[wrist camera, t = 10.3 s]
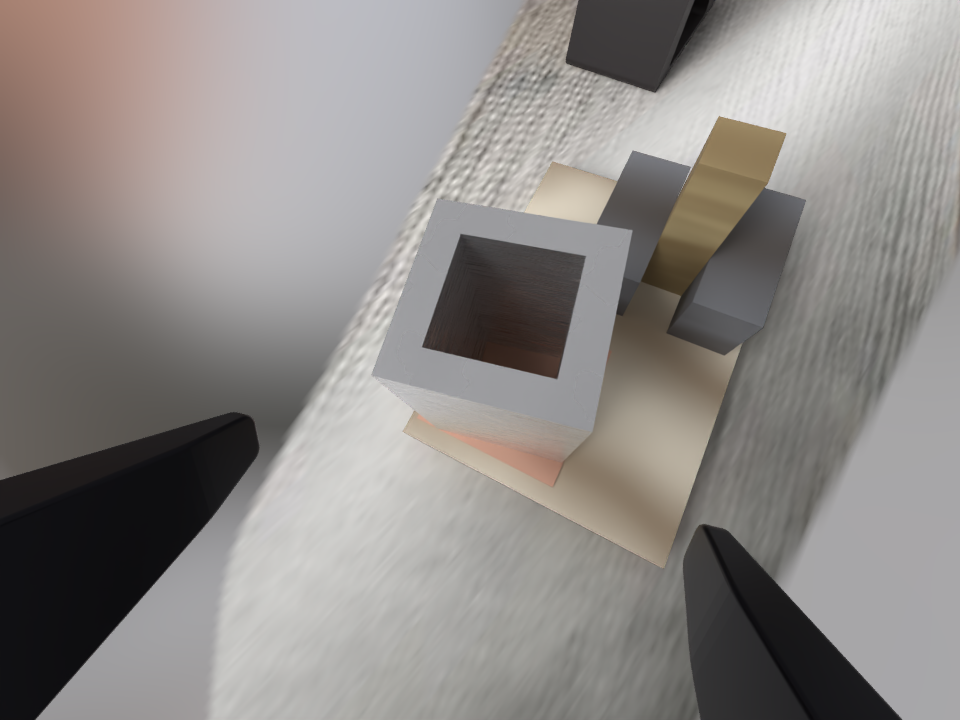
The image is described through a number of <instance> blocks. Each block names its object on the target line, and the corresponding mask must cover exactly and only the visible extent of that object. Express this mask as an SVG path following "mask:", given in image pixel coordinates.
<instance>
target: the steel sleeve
mask: <svg viewBox="0 0 960 720" xmlns="http://www.w3.org/2000/svg"><path fill="white" fill-rule="evenodd" d="M632 231H633V230H628V229H622V228H616V227H610V226H604V225H597V224H591V223H585V222H579V221H573V220H567V219H560V218H554V217H548V216H542V215H536V214H530V213H523V212H517V211H511V210H505V209H499V208H493V207H486V206H480V205H474V204H468V203H462V202H456V201H449V200H443V199H437V201H436V204H435V206H434V209H433V212H432V214H431V217H430V220H429V222H428V225H427V228H426V230H425V233H424V236H423V238H422V241H421V244H420V246H419V249H418V252H417V254H416V257H415V260H414V262H413V265H412V268H411V271H410V273H409V276H408V279H407V281H406V284H405V287H404V289H403V292H402V295H401V297H400V300H399V303H398V305H397V308H396V311H395V313H394V316H393V319H392V321H391V324H390V327H389V329H388V332H387V335H386V337H385V340H384V343H383V345H382V348H381V351H380V353H379V356H378V359H377V361H376V364H375V367H374V369H373V372H372V375H371V376H373V377H374V378H375V379H376V380H378V381H379V382H380V383H381V384H383V385H384V386H385V387H386V388H388V389H389V390H390V391H391V392H392V393H394V394H395V395H396V396H397V397H399V398H400V399H401V400H402V401H404V402H405V403H406V404H407V405H409V406H410V407H411V408H412V409H414V410H415V411H416V412H417V413H419V414H420V415H421V416H422V417H424V418H425V419H426V420H427V421H429V422H430V423H431V424H432V425H434V426H435V427H436V428H437V429H441V430H444V431H448V432H451V433H455V434H459V435H462V436H466V437H470V438H473V439H477V440H481V441H484V442H488V443H492V444H495V445H499V446H503V447H506V448H510V449H514V450H517V451H521V452H525V453H528V454H532V455H535V456H539V457H543V458H546V459H550V460H554V461H557V462H561V463H562V462H563V461H564V460H565V459H566V458H567V457H568V456H569V455H570V454H571V453H572V452H573V451H574V450H575V449H576V448H577V447H578V446H579V445H580V444H581V443H582V442H583V441H584V440H585V439H586V438H587V437H588V436H589V435H590V434H591V433H592V432H593V427H594V422H595V417H596V412H597V407H598V402H599V397H600V392H601V387H602V382H603V377H604V372H605V367H606V362H607V357H608V352H609V347H610V342H611V337H612V331H613V326H614V321H615V316H616V311H617V306H618V301H619V296H620V291H621V286H622V281H623V276H624V271H625V266H626V261H627V256H628V251H629V246H630V241H631V236H632ZM487 341H488V342H492V343H496V344H501V345H505V346H510V347H514V348H519V349H523V350H527V351H532V352H536V353H541V354H545V355H550V356H554V357H558V358H561V359H560V363H559V367H558V371H557V376H556V379H554V378H550V377H545V376H541V375H537V374H533V373H528V372H524V371H520V370H516V369H511V368H507V367H503V366H499V365H495V364H490V363H486V362H482V361H481V360H482V356H483V353H484V349H485V346H486V343H487Z"/></svg>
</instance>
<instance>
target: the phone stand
mask: <svg viewBox="0 0 960 720" xmlns="http://www.w3.org/2000/svg"><path fill="white" fill-rule="evenodd" d="M714 2H715V0H579V1H578V5H577V10H576V15H575V19H574V24H573V29H572V33H571V38H570V42H569V47H568V52H567V56H566V63H568V64H571V65H574V66H577V67H580V68H583V69H586V70H589V71H592V72H595V73H598V74H602V75H605V76H608V77H611V78H614V79H617V80H620V81H623V82H626V83H629V84H632V85H635V86H638V87H641V88H644V89H647V90H650V91H653V92H655V91H656V90H657V88H658V87H659V85H660V84H661V82H662V81H663V79H664V78H665V76H666V75H667V73H668V72H669V70H670V69H671V67H672V66H673V64H674V63H675V61H676V60H677V58H678V57H679V55H680V54H681V52H682V51H683V49H684V47H685V45H687V43H688V42H689V40H690V39H691V37H692V36H693V34H694V33H695V31H696V30H697V28H698V27H699V25H700V24H701V22H702V21H703V19H704V18H705V16H706V15H707V13H708V12H709V10H710V9H711V7H712V6H713V4H714Z"/></svg>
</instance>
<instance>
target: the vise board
mask: <svg viewBox="0 0 960 720" xmlns="http://www.w3.org/2000/svg"><path fill="white" fill-rule="evenodd" d="M785 136H786V133H783V132H779V131H775V130H771V129H767V128H763V127H760V126H756V125H752V124H748V123H744V122H740V121H736V120H732V119H728V118H724V117H720V116H719V117H718V119H717V121H716V123H715V125H714V127H713V129H712V131H711V133H710V135H709V137H708V139H707V141H706V143H705V145H704V147H703V149H702V151H701V153H700V155H699V157H698V159H697V161H696V163H695V165H694V167H693V169H692V171H691V173H690V175H689V176H688V178H687V180H686V182H685V184H684V181H685V179H686V177H687V175H688V172H689V170H690V168H691V167H689V166H685V165H682V164H678V163H675V162H671V161H668V160H664V159H661V158H657V157H654V156H650V155H647V154H643V153H640V152H636V151H632V153H631V155H630V157H629V159H628V161H627V163H626V165H625V167H624V169H623V171H622V173H621V175H620V178H619V180H618V181H614V180H611V179H608V178H605V177H601V176H598V175H595V174H591V173H588V172H585V171H582V170H578V169H575V168H572V167H569V166H565V165H562V164H559V163H556V162H552V163H551V165H550V167H549V169H548V170H547V172H546V174H545V176H544V178H543V179H542V181H541V183H540V185H539V187H538V188H537V190H536V192H535V194H534V196H533V197H532V199H531V201H530V203H529V205H528V207H527V208H526V210H525V212H524V213H530V214H536V215H542V216H548V217H554V218H560V219H567V220H573V221H579V222H585V223H591V224H597V225H604V226H610V227H616V228H622V229H628V230H633V231H632V236H631V241H630V246H629V251H628V256H627V261H626V266H625V271H624V276H623V281H622V286H621V291H620V296H619V301H618V306H617V311H616V316H615V321H614V326H613V331H612V337H611V342H610V347H609V352H608V357H607V362H606V367H605V372H604V377H603V382H602V387H601V392H600V397H599V402H598V407H597V412H596V417H595V422H594V427H593V432H592V433H591V434H590V435H589V436H588V437H587V438H586V439H585V440H584V441H583V442H582V443H581V444H580V445H579V446H578V447H577V448H576V449H575V450H574V451H573V452H572V453H571V454H570V455H569V456H568V457H567V458H566V459H565V460H564V461H563V462H562V463H561V462H557V461H554V460H550V459H546V458H543V457H539V456H535V455H532V454H528V453H525V452H521V451H517V450H514V449H510V448H506V447H503V446H499V445H495V444H492V443H488V442H484V441H481V440H477V439H473V438H470V437H466V436H462V435H459V434H455V433H451V432H448V431H444V430H441V429H437V428H436V427H435V426H434V425H432V424H431V423H430V422H429V421H427V420H426V419H425V418H424V417H422V416H421V415H420V414H419V413H417V412H416V411H415V410H414V412H413V414H412V416H411V418H410V419H409V421H408V423H407V425H406V427H405V428H404V430H403V432H404V433H406V434H408V435H410V436H411V437H413V438H415V439H417V440H419V441H421V442H423V443H425V444H427V445H429V446H430V447H432V448H434V449H436V450H438V451H440V452H442V453H444V454H446V455H448V456H449V457H451V458H453V459H455V460H457V461H459V462H461V463H463V464H465V465H467V466H468V467H470V468H472V469H474V470H476V471H478V472H480V473H482V474H484V475H486V476H487V477H489V478H491V479H493V480H495V481H497V482H499V483H501V484H503V485H505V486H506V487H508V488H510V489H512V490H514V491H516V492H518V493H520V494H522V495H524V496H525V497H527V498H529V499H531V500H533V501H535V502H537V503H539V504H541V505H543V506H545V507H546V508H548V509H550V510H552V511H554V512H556V513H558V514H560V515H562V516H564V517H565V518H567V519H569V520H571V521H573V522H575V523H577V524H579V525H581V526H583V527H584V528H586V529H588V530H590V531H592V532H594V533H596V534H598V535H600V536H602V537H603V538H605V539H607V540H609V541H611V542H613V543H615V544H617V545H619V546H621V547H622V548H624V549H626V550H628V551H630V552H632V553H634V554H636V555H638V556H640V557H641V558H643V559H645V560H647V561H649V562H651V563H653V564H655V565H657V566H659V567H661V568H663V569H664V567H665V564H666V562H667V559H668V556H669V553H670V550H671V547H672V544H673V541H674V539H675V536H676V533H677V530H678V527H679V524H680V521H681V518H682V516H683V513H684V510H685V507H686V504H687V501H688V498H689V495H690V493H691V490H692V487H693V484H694V481H695V478H696V475H697V472H698V470H699V467H700V464H701V461H702V458H703V455H704V452H705V449H706V446H707V444H708V441H709V438H710V435H711V432H712V429H713V426H714V423H715V421H716V418H717V415H718V412H719V409H720V406H721V403H722V400H723V398H724V395H725V392H726V389H727V386H728V383H729V380H730V377H731V375H732V372H733V369H734V366H735V363H736V360H737V357H738V354H739V352H740V349H741V346H742V343H743V342H744V341H745V340H747V339H748V338H750V337H751V336H752V335H754V334H755V333H756V332H758V331H759V330H761V329H762V328H763V327H764V324H765V321H766V318H767V315H768V312H769V309H770V306H771V303H772V300H773V297H774V294H775V291H776V288H777V285H778V282H779V279H780V276H781V273H782V270H783V267H784V264H785V261H786V258H787V255H788V252H789V249H790V246H791V243H792V240H793V237H794V234H795V231H796V228H797V225H798V223H799V220H800V217H801V214H802V211H803V208H804V205H805V202H806V200H804V199H801V198H797V197H794V196H790V195H787V194H783V193H780V192H776V191H773V190H769V189H766V188H765V186H766V185H767V184H768V182H769V179H770V176H771V174H772V171H773V168H774V166H775V163H776V160H777V158H778V155H779V152H780V150H781V147H782V144H783V141H784V139H785ZM683 184H684V186H683ZM682 186H683V188H682ZM681 188H682V190H681ZM680 191H681V192H680ZM679 193H680V194H679ZM678 195H679V196H678ZM677 197H678V198H677ZM560 359H561V358H558V357H554V356H550V355H545V354H541V353H536V352H532V351H527V350H523V349H519V348H514V347H510V346H505V345H501V344H496V343H492V342H488V341H487V343H486V346H485V349H484V353H483V356H482V360H481V361H482V362H486V363H490V364H495V365H499V366H503V367H507V368H511V369H516V370H520V371H524V372H528V373H533V374H537V375H541V376H545V377H550V378H554V379H556V376H557V371H558V367H559V363H560Z"/></svg>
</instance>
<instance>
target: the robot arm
mask: <svg viewBox="0 0 960 720" xmlns="http://www.w3.org/2000/svg"><path fill="white" fill-rule="evenodd" d="M259 449H260V445H259V440H258V435H257V430H256V425H255V421H254V419H253V418H252V417H251V416H249V415H246V414H242V413H237V412H231V413H227V414H224V415H220V416H217V417H213V418H210V419H207V420H203V421H200V422H196V423H193V424H190V425H186V426H183V427H179V428H176V429H173V430H169V431H166V432H163V433H159V434H156V435H152V436H149V437H145V438H142V439H139V440H135V441H132V442H129V443H125V444H122V445H118V446H115V447H111V448H108V449H105V450H102V451H98V452H94V453H91V454H88V455H84V456H81V457H77V458H74V459H71V460H67V461H64V462H60V463H57V464H54V465H50V466H47V467H43V468H40V469H37V470H33V471H30V472H26V473H24V474H20V475H16V476H13V477H9V478H6V479H3V480H0V720H36V718H37V717H38V716H39V715H40V714H41V713H42V712H43V710H44V709H45V708H46V707H47V706H48V705H49V704H50V703H51V701H52V700H53V699H54V698H55V697H56V696H57V695H58V693H59V692H60V691H61V690H62V689H63V688H64V686H65V685H66V684H67V683H68V682H69V681H70V680H71V679H72V677H73V676H74V675H75V674H76V673H77V672H78V671H79V669H80V668H81V667H82V666H83V665H84V664H85V663H86V661H87V660H88V659H89V658H90V657H91V656H92V655H93V653H94V652H95V651H96V650H97V649H98V648H99V646H100V645H101V644H102V643H103V642H104V641H105V640H106V639H107V638H108V636H109V635H110V634H111V633H112V632H113V631H114V629H115V628H116V627H117V626H118V625H119V624H120V623H121V622H122V620H123V619H124V618H125V617H126V616H127V614H129V612H130V611H131V610H132V609H133V608H134V606H135V605H136V604H137V603H138V602H139V601H140V600H141V598H142V597H143V596H144V595H145V594H146V593H147V592H148V591H149V590H150V588H151V587H152V586H153V585H154V584H155V583H156V581H157V580H158V579H159V578H160V577H161V576H162V575H163V574H164V572H165V571H166V570H167V569H168V568H169V567H170V566H171V564H172V563H173V562H174V561H175V560H176V559H177V558H178V556H179V555H180V554H181V553H182V552H183V551H184V549H185V548H186V547H187V546H188V545H189V544H190V543H191V541H192V540H193V539H194V538H195V537H196V536H197V535H198V534H199V532H200V531H201V530H202V529H203V528H204V527H205V525H206V524H207V523H208V522H209V521H210V519H211V518H212V517H213V516H214V514H215V513H216V512H217V510H218V509H219V508H220V506H221V505H222V504H223V502H224V501H225V500H226V498H227V497H228V496H229V494H230V493H231V491H232V490H233V489H234V487H235V486H236V485H237V483H238V482H239V481H240V479H241V478H242V476H243V475H244V474H245V472H246V471H247V470H248V468H249V467H250V466H251V464H252V462H253V461H254V460H255V459H256V457H257V455H258V453H259ZM683 575H684V588H685V601H686V614H687V628H688V641H689V652H690V662H691V668H692V674H693V680H694V686H695V691H696V697H697V702H698V708H699V713H700V719H701V720H902V719H901V718H900V717H899V715H898V714H896V712H895V711H894V710H893V709H892V708H891V707H890V706H889V705H888V704H887V702H885V701H884V699H883V698H882V697H881V696H880V695H879V694H878V693H877V692H876V691H875V690H874V689H873V687H872V686H871V685H870V684H869V683H868V682H867V681H866V680H865V679H864V678H863V677H862V675H861V674H860V673H859V672H858V671H857V670H856V669H855V668H854V667H853V666H852V665H851V664H850V662H849V661H848V660H847V659H846V658H845V657H844V656H843V655H842V654H841V653H840V652H839V651H838V649H837V648H836V647H835V646H834V645H833V644H832V643H831V642H830V641H829V640H828V639H827V638H826V636H825V635H824V634H823V633H822V632H821V631H820V630H819V629H818V628H817V627H816V626H815V625H814V624H813V622H812V621H811V620H810V619H809V618H808V617H807V616H806V615H805V614H804V613H803V612H802V610H801V609H800V608H799V607H798V606H797V605H796V604H795V603H794V602H793V601H792V600H791V599H790V597H789V596H788V595H787V594H786V593H785V592H784V591H783V590H782V589H781V588H780V587H779V586H778V584H777V583H776V582H775V581H774V580H773V579H772V578H771V577H770V576H769V575H768V574H767V573H766V571H765V570H764V569H763V568H762V567H761V566H760V565H759V564H758V563H757V562H756V561H755V560H754V558H753V557H752V556H751V555H750V554H749V553H748V552H747V551H746V550H745V549H744V548H743V547H742V545H741V544H740V543H739V542H738V541H737V540H736V539H735V538H734V537H733V536H732V535H731V534H730V533H729V532H728V531H727V530H725V529H723V528H718V527H714V526H710V525H706V524H702V525H699V526H698V528H697V529H696V531H695V533H694V535H693V538H692V540H691V542H690V544H689V546H688V549H687V551H686V553H685V556H684V560H683Z"/></svg>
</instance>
